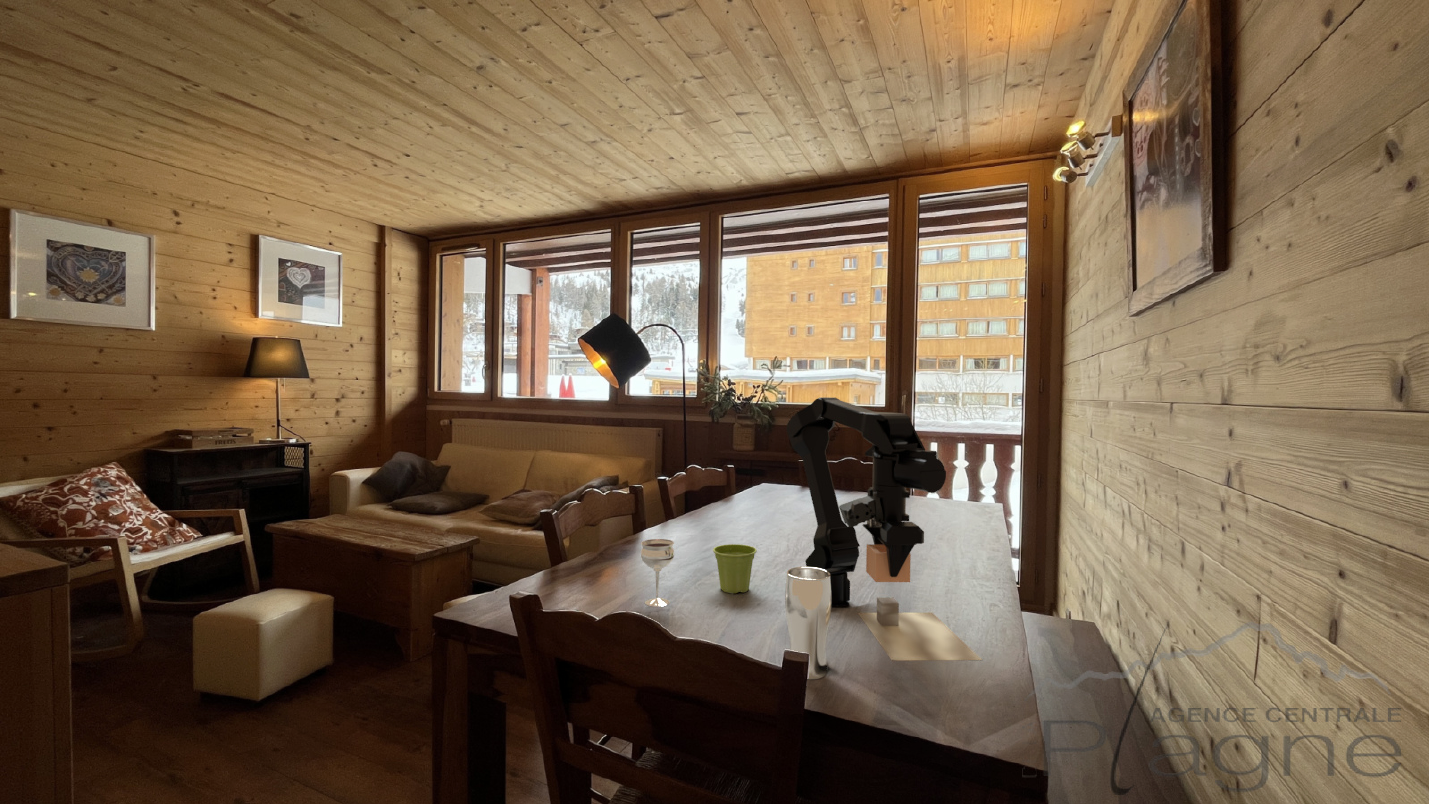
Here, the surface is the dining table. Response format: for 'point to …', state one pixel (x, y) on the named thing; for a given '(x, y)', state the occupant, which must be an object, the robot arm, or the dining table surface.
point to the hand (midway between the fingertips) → (887, 571)
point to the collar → (884, 565)
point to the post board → (914, 635)
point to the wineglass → (657, 562)
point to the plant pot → (734, 566)
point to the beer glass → (809, 614)
